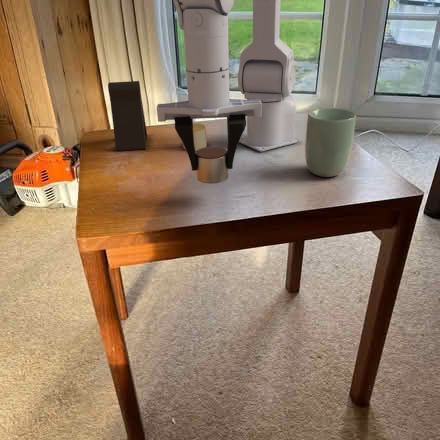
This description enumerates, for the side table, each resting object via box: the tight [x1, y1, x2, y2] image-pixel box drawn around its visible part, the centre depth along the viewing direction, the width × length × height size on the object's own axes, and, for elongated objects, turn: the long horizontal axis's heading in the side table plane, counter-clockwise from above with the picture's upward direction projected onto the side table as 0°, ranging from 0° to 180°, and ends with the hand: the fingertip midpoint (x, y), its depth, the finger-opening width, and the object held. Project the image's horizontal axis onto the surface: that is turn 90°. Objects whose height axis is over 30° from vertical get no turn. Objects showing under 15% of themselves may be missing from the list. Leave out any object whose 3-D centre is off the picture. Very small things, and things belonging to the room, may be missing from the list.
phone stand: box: [107, 80, 148, 152], centre depth 92 cm, size 9×6×12 cm, turn 5°
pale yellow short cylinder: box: [182, 123, 208, 152], centre depth 91 cm, size 5×5×4 cm
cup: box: [304, 107, 357, 178], centre depth 76 cm, size 8×8×10 cm
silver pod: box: [195, 146, 229, 185], centre depth 68 cm, size 5×5×4 cm
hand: (211, 167), depth 68 cm, fingers closed on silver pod, 5 cm apart
